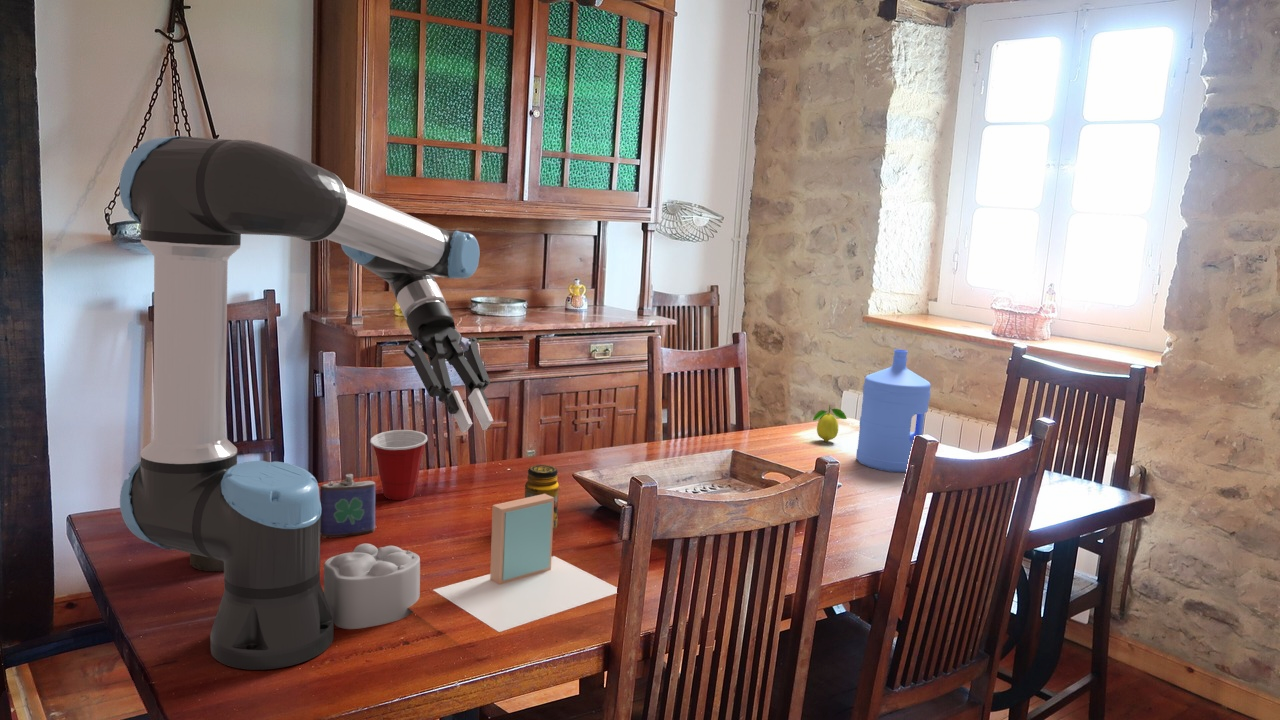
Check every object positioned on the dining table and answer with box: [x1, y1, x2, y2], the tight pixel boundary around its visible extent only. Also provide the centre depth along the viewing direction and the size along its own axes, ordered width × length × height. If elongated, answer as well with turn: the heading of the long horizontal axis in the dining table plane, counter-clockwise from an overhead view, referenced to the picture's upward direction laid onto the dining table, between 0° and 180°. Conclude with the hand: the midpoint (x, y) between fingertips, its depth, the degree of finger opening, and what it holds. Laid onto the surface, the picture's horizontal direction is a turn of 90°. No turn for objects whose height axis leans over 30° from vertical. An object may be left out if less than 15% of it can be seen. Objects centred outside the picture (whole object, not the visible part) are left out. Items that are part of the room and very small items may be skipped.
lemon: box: [812, 404, 848, 443], centre depth 247 cm, size 7×6×10 cm
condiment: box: [524, 464, 560, 531], centre depth 169 cm, size 7×8×12 cm
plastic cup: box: [370, 429, 428, 501], centre depth 184 cm, size 11×11×12 cm
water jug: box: [855, 348, 932, 473], centre depth 228 cm, size 16×16×28 cm
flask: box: [319, 473, 376, 538], centre depth 164 cm, size 9×3×11 cm, turn 116°
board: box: [432, 555, 618, 633], centre depth 143 cm, size 23×17×1 cm
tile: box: [489, 494, 554, 585], centre depth 147 cm, size 10×3×12 cm, turn 134°
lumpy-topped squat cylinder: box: [323, 543, 421, 630], centre depth 136 cm, size 10×13×9 cm
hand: (477, 426), depth 154 cm, fingers open, 3 cm apart
